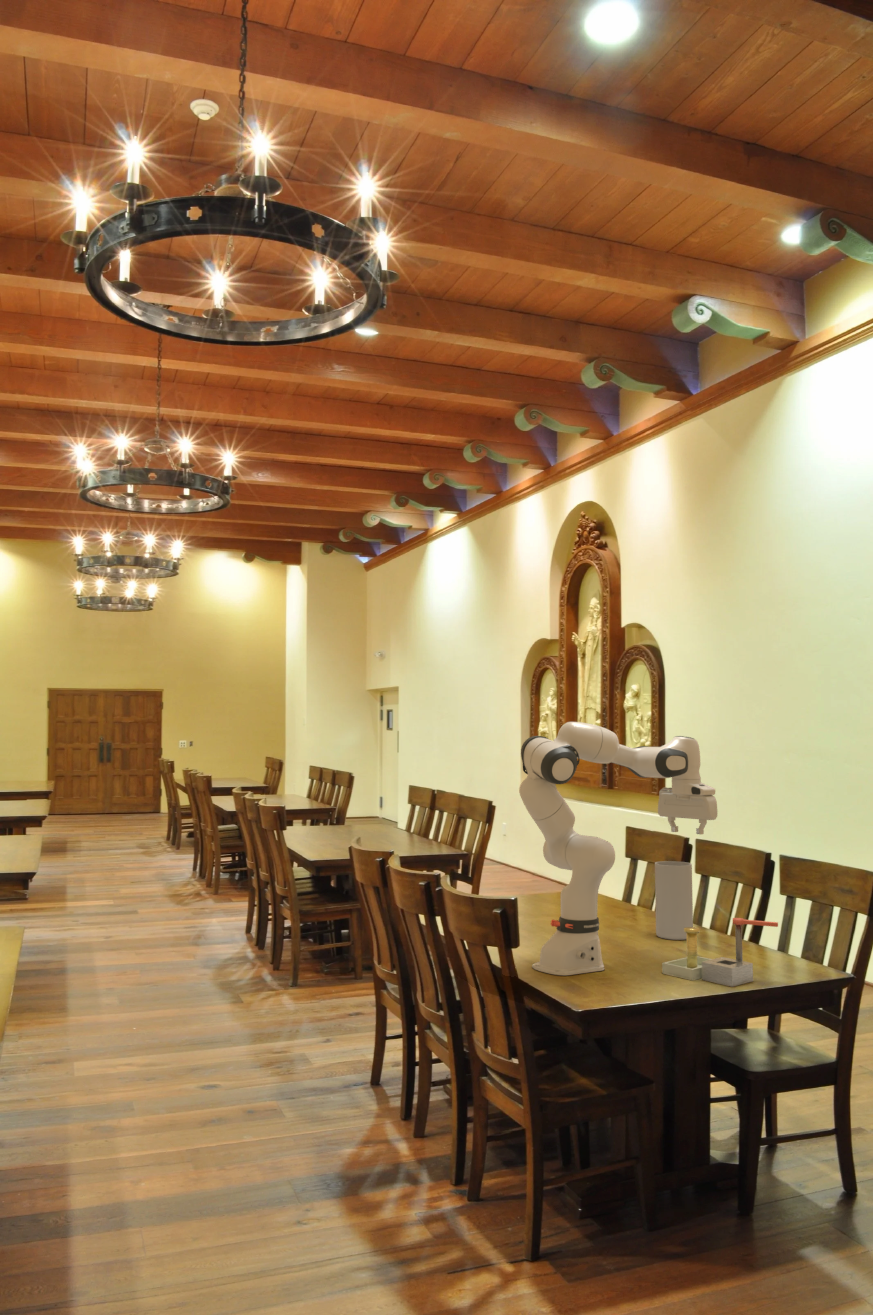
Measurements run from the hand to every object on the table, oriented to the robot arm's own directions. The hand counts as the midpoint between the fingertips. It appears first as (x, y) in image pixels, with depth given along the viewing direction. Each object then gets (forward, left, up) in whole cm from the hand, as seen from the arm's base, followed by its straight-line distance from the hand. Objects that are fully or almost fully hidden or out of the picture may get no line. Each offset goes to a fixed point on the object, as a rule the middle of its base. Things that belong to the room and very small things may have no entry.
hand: (687, 833), depth 301 cm
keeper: (-3, -25, -24) cm, 35 cm away
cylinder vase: (+27, +26, -39) cm, 54 cm away
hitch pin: (-12, -9, -38) cm, 41 cm away
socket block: (-10, -21, -39) cm, 45 cm away
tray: (-11, -9, -39) cm, 42 cm away
